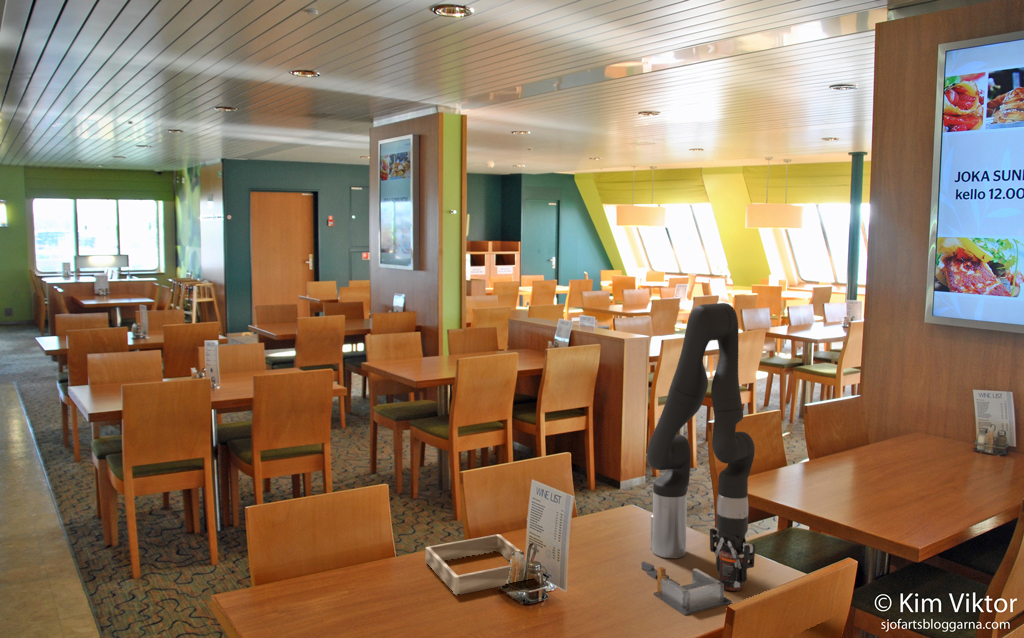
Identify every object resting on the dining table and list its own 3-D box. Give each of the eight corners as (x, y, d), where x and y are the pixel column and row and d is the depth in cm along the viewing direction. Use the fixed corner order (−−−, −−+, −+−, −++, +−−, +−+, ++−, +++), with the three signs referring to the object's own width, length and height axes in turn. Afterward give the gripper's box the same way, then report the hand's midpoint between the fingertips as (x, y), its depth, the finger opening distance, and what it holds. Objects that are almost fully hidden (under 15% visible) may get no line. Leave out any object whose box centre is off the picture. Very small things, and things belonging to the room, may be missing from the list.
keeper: (653, 594, 186) (653, 568, 186) (698, 583, 192) (698, 558, 192) (684, 615, 175) (685, 588, 175) (731, 603, 181) (732, 576, 181)
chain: (639, 568, 202) (639, 562, 201) (646, 567, 203) (646, 560, 202) (672, 589, 189) (672, 582, 189) (679, 587, 190) (679, 581, 190)
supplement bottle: (744, 593, 187) (745, 548, 186) (719, 591, 188) (720, 546, 187) (742, 582, 193) (743, 539, 192) (718, 581, 194) (718, 537, 193)
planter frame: (425, 563, 206) (425, 547, 205) (499, 549, 215) (499, 534, 215) (455, 595, 186) (455, 577, 186) (534, 578, 195) (534, 561, 195)
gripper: (701, 505, 194) (700, 568, 195) (741, 523, 181) (739, 590, 182) (724, 501, 197) (723, 563, 198) (764, 518, 184) (763, 584, 185)
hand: (731, 576), depth 190 cm, fingers open, 7 cm apart
